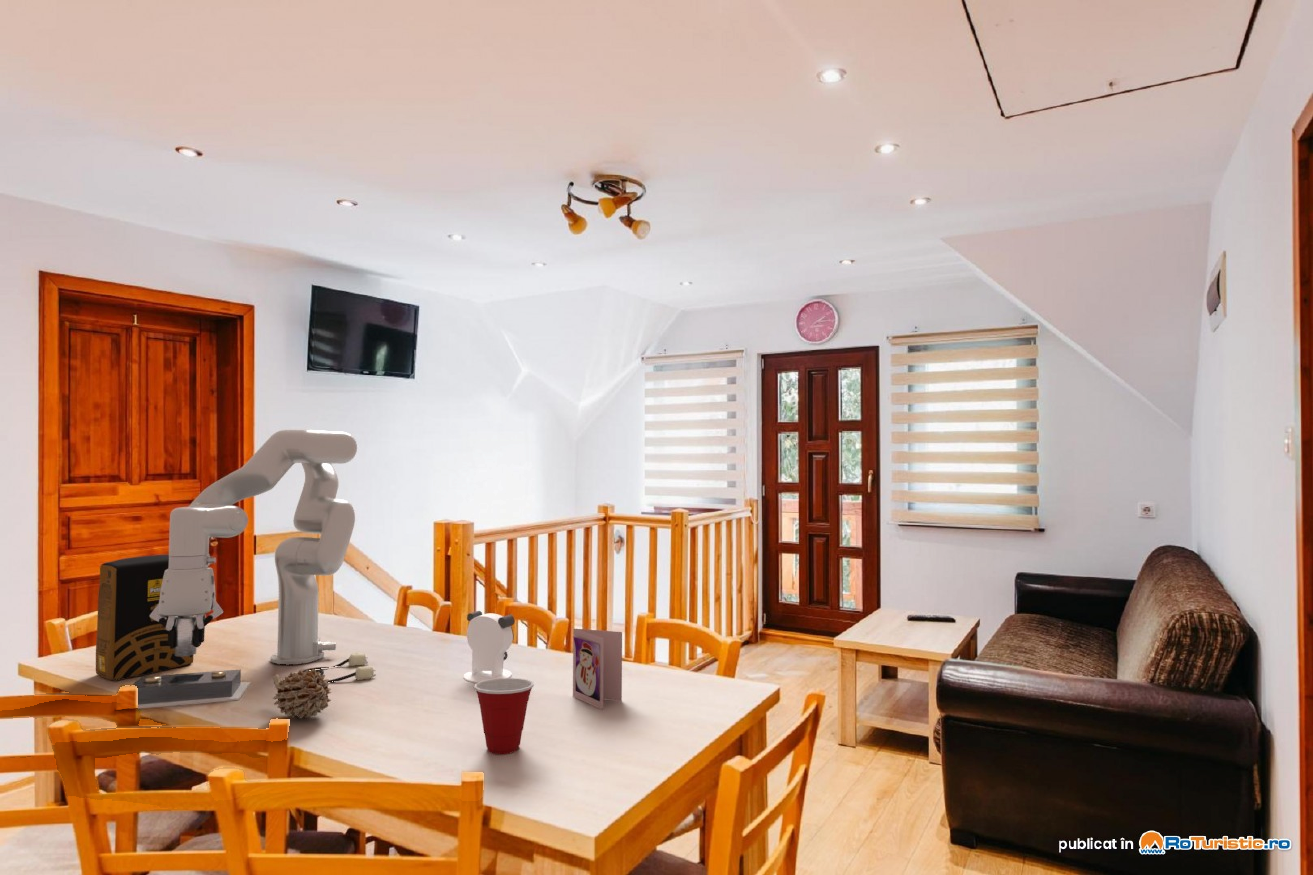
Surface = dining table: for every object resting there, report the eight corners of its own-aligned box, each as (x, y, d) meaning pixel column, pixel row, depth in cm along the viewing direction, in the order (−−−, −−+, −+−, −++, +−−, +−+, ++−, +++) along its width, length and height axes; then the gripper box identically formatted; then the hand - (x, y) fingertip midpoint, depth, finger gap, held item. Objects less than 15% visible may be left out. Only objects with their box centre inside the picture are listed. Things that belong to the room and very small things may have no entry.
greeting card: (569, 696, 166) (570, 628, 167) (596, 690, 171) (597, 624, 171) (599, 710, 158) (600, 638, 158) (627, 703, 162) (628, 633, 163)
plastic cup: (536, 736, 143) (537, 673, 143) (529, 759, 132) (529, 691, 132) (479, 736, 142) (480, 673, 143) (467, 760, 132) (467, 691, 132)
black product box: (198, 664, 190) (200, 553, 191) (110, 683, 174) (113, 562, 174) (177, 657, 196) (180, 550, 196) (90, 675, 180) (93, 558, 180)
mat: (250, 683, 174) (250, 682, 174) (238, 699, 163) (239, 698, 163) (134, 693, 167) (134, 691, 167) (114, 710, 155) (114, 708, 155)
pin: (198, 651, 167) (199, 615, 167) (193, 655, 163) (194, 618, 164) (177, 652, 166) (179, 616, 166) (172, 656, 162) (173, 619, 162)
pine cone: (344, 719, 151) (345, 669, 152) (297, 733, 144) (298, 681, 144) (290, 697, 165) (290, 651, 165) (244, 708, 157) (245, 661, 157)
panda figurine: (523, 673, 184) (523, 611, 184) (494, 685, 174) (495, 621, 174) (483, 667, 189) (484, 607, 189) (453, 679, 179) (454, 616, 179)
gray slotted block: (240, 684, 172) (240, 665, 172) (231, 696, 164) (232, 676, 164) (141, 692, 166) (141, 673, 166) (126, 705, 157) (127, 684, 158)
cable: (306, 690, 171) (306, 675, 171) (300, 672, 185) (300, 658, 185) (378, 680, 179) (378, 666, 179) (366, 664, 193) (367, 650, 193)
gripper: (234, 559, 172) (232, 640, 171) (150, 562, 166) (147, 645, 166) (227, 564, 164) (224, 648, 164) (138, 566, 159) (135, 653, 159)
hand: (185, 645), depth 165 cm, fingers closed on pin, 4 cm apart
